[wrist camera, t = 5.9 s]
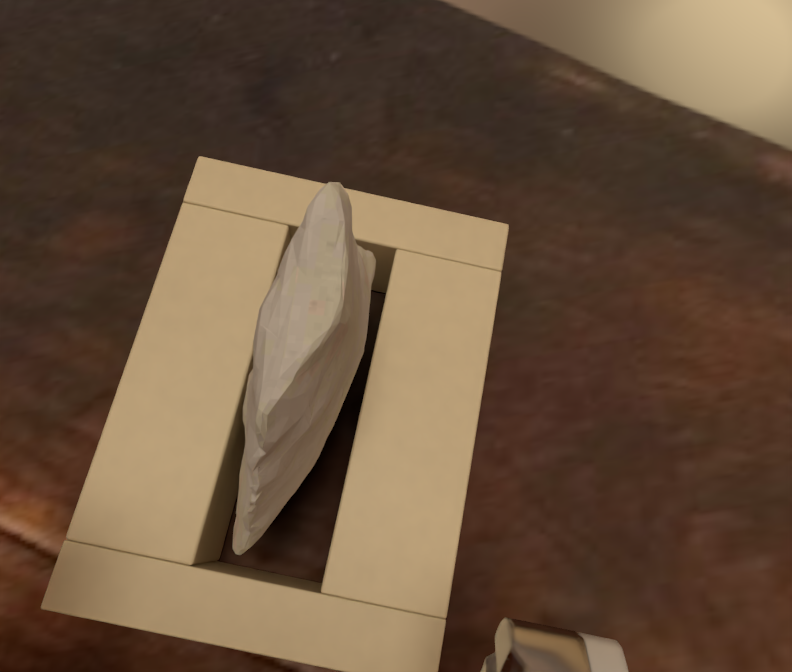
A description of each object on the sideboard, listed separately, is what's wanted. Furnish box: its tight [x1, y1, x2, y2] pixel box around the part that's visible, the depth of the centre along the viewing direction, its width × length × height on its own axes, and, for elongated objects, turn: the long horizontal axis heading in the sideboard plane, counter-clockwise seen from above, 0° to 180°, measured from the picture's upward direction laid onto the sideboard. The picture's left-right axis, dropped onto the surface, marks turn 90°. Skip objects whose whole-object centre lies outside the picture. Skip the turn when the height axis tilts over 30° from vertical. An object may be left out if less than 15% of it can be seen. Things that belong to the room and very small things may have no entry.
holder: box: [41, 156, 509, 672], centre depth 18 cm, size 9×12×4 cm
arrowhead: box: [232, 182, 376, 555], centre depth 15 cm, size 8×2×10 cm, turn 162°
